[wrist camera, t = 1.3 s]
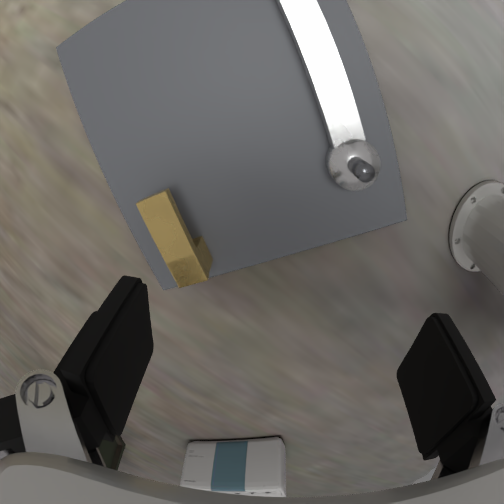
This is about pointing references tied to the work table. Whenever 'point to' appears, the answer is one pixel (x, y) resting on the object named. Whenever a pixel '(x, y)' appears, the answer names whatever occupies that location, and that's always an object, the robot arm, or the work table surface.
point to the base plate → (226, 126)
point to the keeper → (175, 239)
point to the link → (331, 96)
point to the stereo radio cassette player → (237, 467)
